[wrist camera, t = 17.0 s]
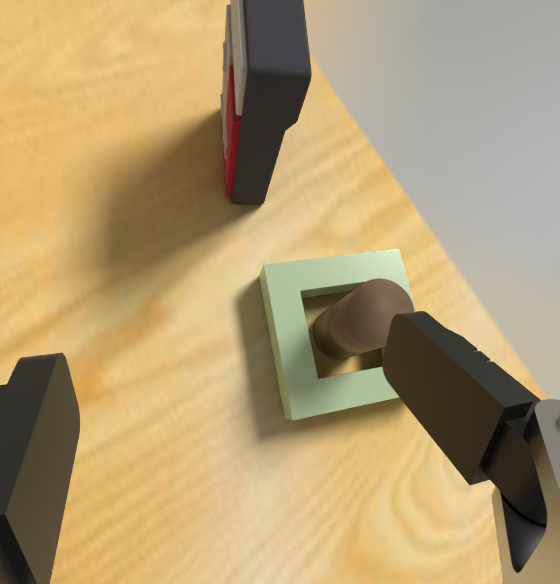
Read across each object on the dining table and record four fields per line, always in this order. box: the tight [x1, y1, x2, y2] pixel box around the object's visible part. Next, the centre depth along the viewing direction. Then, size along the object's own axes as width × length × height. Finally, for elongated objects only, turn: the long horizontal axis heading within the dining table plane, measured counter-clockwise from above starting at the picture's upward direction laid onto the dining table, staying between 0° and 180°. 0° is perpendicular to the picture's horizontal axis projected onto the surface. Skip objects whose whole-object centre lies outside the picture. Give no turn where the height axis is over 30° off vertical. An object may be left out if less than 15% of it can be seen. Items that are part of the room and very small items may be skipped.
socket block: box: [259, 249, 416, 420], centre depth 32 cm, size 12×12×3 cm
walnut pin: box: [313, 278, 415, 359], centre depth 29 cm, size 4×4×9 cm
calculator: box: [221, 0, 311, 204], centre depth 29 cm, size 11×4×15 cm, turn 4°
